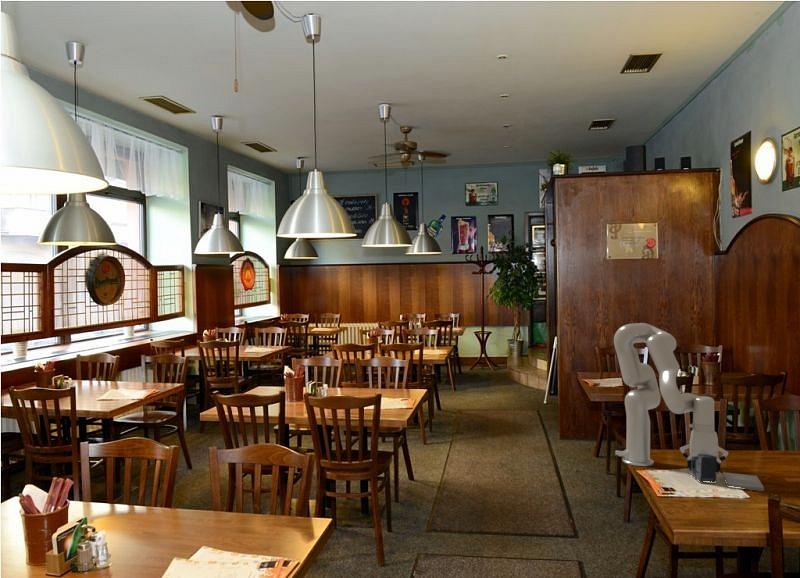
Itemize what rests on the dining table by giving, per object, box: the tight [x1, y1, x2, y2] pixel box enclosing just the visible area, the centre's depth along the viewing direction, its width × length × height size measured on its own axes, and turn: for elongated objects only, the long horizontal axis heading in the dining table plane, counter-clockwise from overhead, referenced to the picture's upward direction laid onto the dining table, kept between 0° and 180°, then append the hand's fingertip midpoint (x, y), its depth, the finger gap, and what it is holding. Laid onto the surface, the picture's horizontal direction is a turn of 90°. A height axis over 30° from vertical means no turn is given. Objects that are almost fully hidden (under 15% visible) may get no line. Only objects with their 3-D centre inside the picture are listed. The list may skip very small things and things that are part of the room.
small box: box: [688, 455, 717, 483], centre depth 242 cm, size 11×6×10 cm, turn 179°
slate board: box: [722, 471, 765, 492], centre depth 237 cm, size 12×15×2 cm
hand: (703, 470), depth 242 cm, fingers open, 9 cm apart
